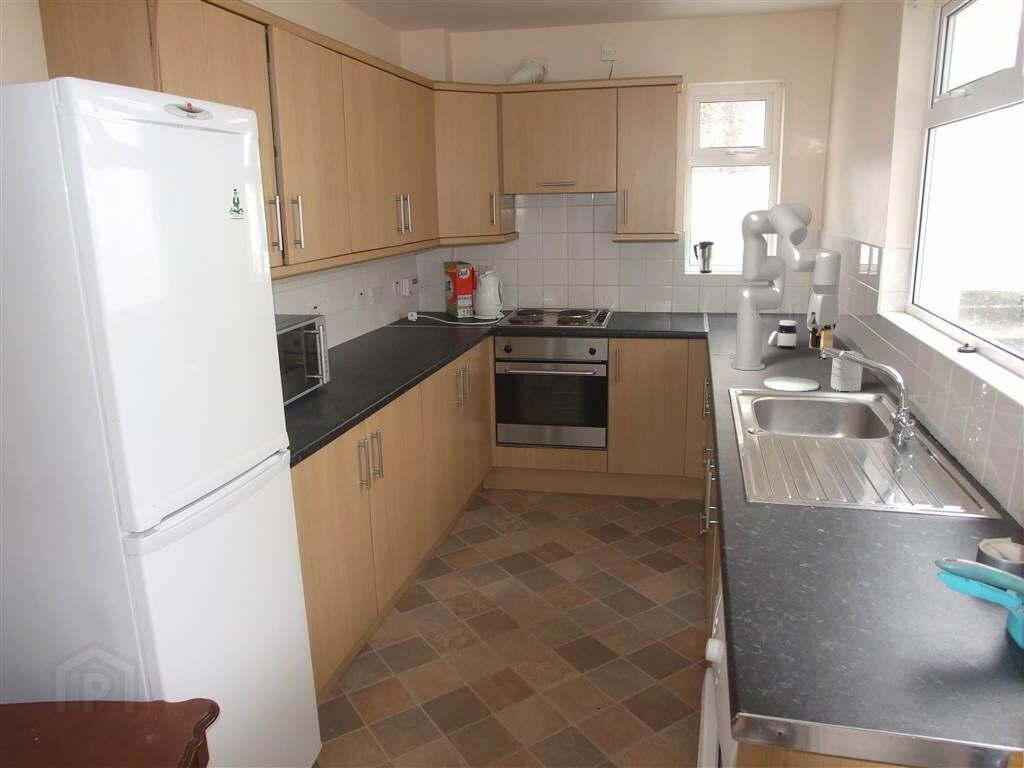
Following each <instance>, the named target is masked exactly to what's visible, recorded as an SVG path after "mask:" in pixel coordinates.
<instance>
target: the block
mask: <svg viewBox="0 0 1024 768" xmlns="http://www.w3.org/2000/svg"><path fill="white" fill-rule="evenodd" d="M815 328H816V330H817V327H815ZM834 332H835V329H834V330H832V329H825V328H824V327H821V331H820V335H819V336H821V340H820V348H815V347H811V346H810V344H811V334H810V333H809V344H808V345H809V347H808V348H809V349H815V350H820V351H823V350H822V348H823V347H827V348H831V349H833V344H834Z"/></svg>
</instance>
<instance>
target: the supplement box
mask: <svg viewBox="0 0 1024 768" xmlns="http://www.w3.org/2000/svg"><path fill="white" fill-rule="evenodd" d="M844 352H847V353H849V354H852V355H855V356H858V357H862V358H863V359H864V355H863V354H861V352H857V351H854V350H849V351H848V350H846V351H844ZM831 363H832V364H831V365H832V367H831V376H830V378H831V379H830V388H832V389H834V390H835V389H836V391H837V390H839V391H849V392H861V389H862V379H863V378H862V377H863V376H862V375H863V366H860V365H857V364H853V363H851V362H848V361H845V360H841V359H837V358H833V357H832V362H831ZM839 391H838V392H839Z"/></svg>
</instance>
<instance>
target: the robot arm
mask: <svg viewBox="0 0 1024 768" xmlns="http://www.w3.org/2000/svg"><path fill="white" fill-rule="evenodd" d="M812 217H813V215H812V210H811V208H810V207H809V206H808V205H807V204H805V203H779V204H776V205H774V206H772V207H771V208H770V209H763V210H761V209H760V210H753V211H749V212H748V213H746V214H745V215H744V217H743V219H742V223H741V234H742V238H743V252H742V264H741V265H742V268H741V275H742V278H743V280H744V281H746V282H751V283H753V282H756V283H758V282H761V283H762V282H763V283H764V282H767V284H750V285H744V286H742V287H740V288H739V289H738V290H737V292H736V293H735V303H736V310H737V311H736V313H737V315H736V316H737V317H736V318H737V319H736V323H737V324H736V338H735V339H736V340H735V353H730V355H729V356H728V359H730V360H732V362H730V367H731V368H732V369H735V370H742V371H760V370H764V369H765V368H766V365H765V364H764V363H762V351H763V350H762V349H763V334H764V320H763V318H762V316H761V315H760V313H759V311H771V310H772V311H773V310H777V309H780V307H781V306H782V304H783V302H784V295H785V285H786V272H787V269H788V270H790V271H791V272H793V273H810V272H811V273H813V284H812V294H811V296H810V298H809V302H808V309H807V312H806V313H807V315H806V328H807V329H808V330H809V335H810V334H811V344H810V346H811V347H815V348H820V340H821V336H819V335H820V331H821V328H825V329H832V330H834V331H835V329H836V326H838V324H839V287H840V285H839V283H840V273H841V264H842V253H841V252H840V251H838V250H830V249H828V248H819V247H818V248H797V246H798V245H799V246H800V244H801V243H803V242H804V241H805V240H806V238H807V236H808V232H809V230H808V227H809V225H810V224H811V222H812V219H813V218H812ZM777 234H778V236H779V238H780V239H781V241H780V243H779V244H780V245H779V255H780V256H779V255H778V256H777V255H768V248H769V247H768V246H769V245H768V241H767V239H766V238H765V236H764V235H777ZM786 267H787V269H786ZM816 328H817V330H816Z"/></svg>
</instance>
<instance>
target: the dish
mask: <svg viewBox="0 0 1024 768" xmlns="http://www.w3.org/2000/svg"><path fill="white" fill-rule="evenodd" d="M763 386H764V387H765V388H767V387H768V388H767V389H770V388H771V389H770V390H774V389H776V390H775V391H778V390H785V391H808V390H815V389H817V390H819V389H818V388H820V383H819V382H817V381H816V380H814V379H813V380H812V379H808V378H806V377H798V376H772V377H769V378H765V379H763ZM785 391H784V392H785ZM815 391H816V390H815Z"/></svg>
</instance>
